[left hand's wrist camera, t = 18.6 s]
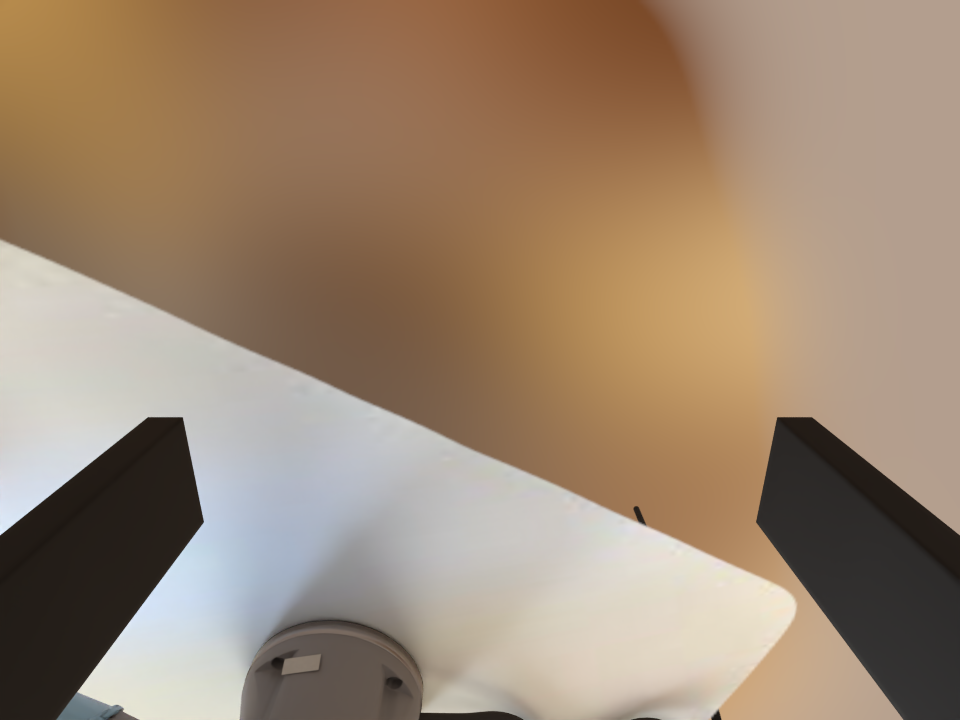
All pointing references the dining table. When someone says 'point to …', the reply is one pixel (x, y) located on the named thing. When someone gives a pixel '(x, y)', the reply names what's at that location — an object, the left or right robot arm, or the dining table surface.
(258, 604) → the dining table surface
